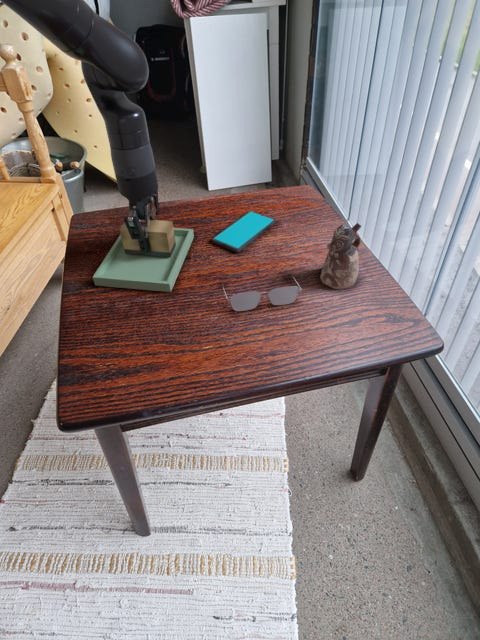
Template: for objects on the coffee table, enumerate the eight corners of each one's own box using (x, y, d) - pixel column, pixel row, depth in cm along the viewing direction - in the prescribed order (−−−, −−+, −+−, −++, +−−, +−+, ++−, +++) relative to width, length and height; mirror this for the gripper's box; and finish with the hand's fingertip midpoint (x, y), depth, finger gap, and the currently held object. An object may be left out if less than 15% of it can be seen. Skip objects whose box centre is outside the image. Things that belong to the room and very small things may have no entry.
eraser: (125, 253, 90) (119, 229, 85) (132, 242, 93) (126, 218, 89) (170, 257, 88) (166, 232, 84) (176, 245, 92) (172, 221, 87)
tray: (95, 285, 84) (92, 277, 82) (128, 232, 97) (126, 224, 96) (170, 292, 82) (169, 283, 80) (194, 237, 96) (193, 229, 94)
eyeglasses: (228, 313, 77) (226, 295, 75) (220, 288, 83) (219, 271, 81) (300, 302, 79) (302, 284, 76) (288, 279, 85) (289, 262, 82)
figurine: (315, 269, 86) (322, 217, 78) (348, 265, 87) (358, 213, 79) (327, 291, 81) (336, 238, 73) (362, 286, 82) (374, 233, 74)
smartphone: (211, 238, 93) (250, 210, 102) (211, 242, 94) (250, 213, 102) (238, 249, 90) (276, 219, 99) (238, 253, 91) (275, 222, 99)
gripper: (128, 150, 83) (143, 225, 95) (100, 183, 73) (121, 263, 85) (164, 152, 83) (175, 228, 94) (141, 185, 72) (156, 266, 84)
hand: (149, 244), depth 90 cm, fingers closed on eraser, 4 cm apart
